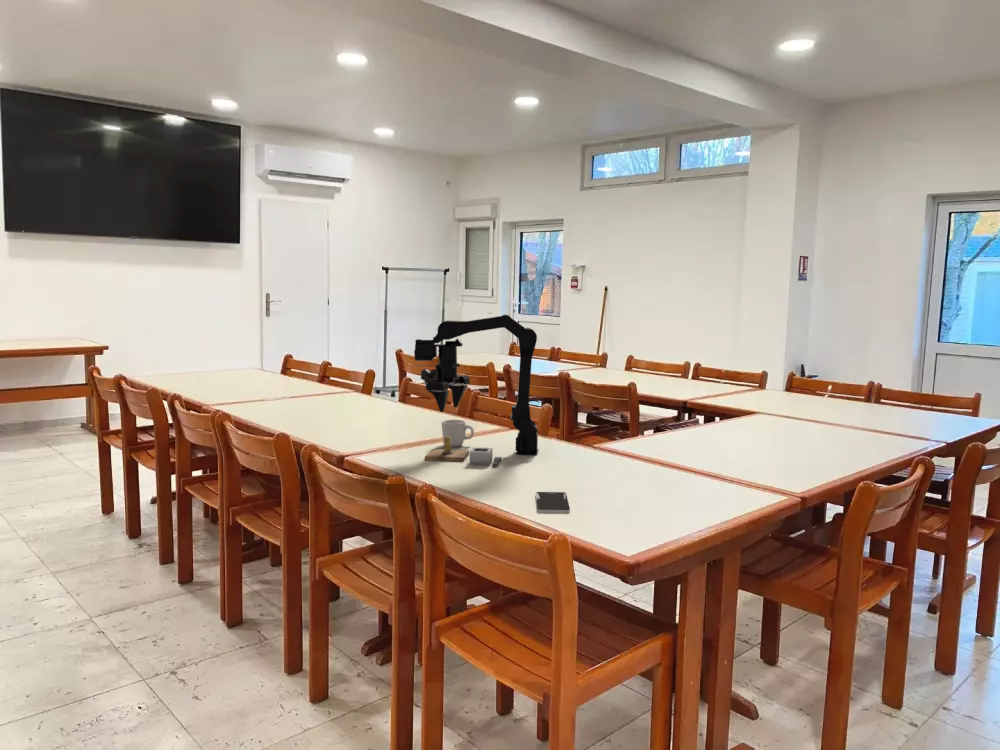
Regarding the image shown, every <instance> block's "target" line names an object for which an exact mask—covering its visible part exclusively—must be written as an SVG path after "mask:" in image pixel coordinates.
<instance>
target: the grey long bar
mask: <svg viewBox="0 0 1000 750" xmlns="http://www.w3.org/2000/svg"><path fill="white" fill-rule="evenodd" d="M501 461H502V456H494V457H493V461H492V463H491V465H492V468H498V467H499V465H500V463H501Z"/></svg>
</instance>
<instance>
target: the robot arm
mask: <svg viewBox="0 0 1000 750" xmlns="http://www.w3.org/2000/svg"><path fill="white" fill-rule="evenodd" d="M502 328H504V329H506V330H507V331H508V332H510V334H512V335H514V336H515V337H516V338H517V339H518V347H519V357H520V358H519V371H518V383H517V384H518V387H517V397H516V398H517V399H516V403H515V404H511V406H510V407H511V414H510V421H512V426H513V427H514V428H515V429H516V430H518V432H517V436H516V438H515V451H516V455H533V456H534V455H535V456H536V455H537V454H538V453H539V448H538V447H539V446H538V445H539V444H538V443H539V442H538V441H539V433H538V427H537V424H536V423H535V421H533V420H532V417H531V410H530V409H531V408H530V402H529V401H530V388H531V386H530V385H531V375H532V360H533V357H534V356H533V355H534V353H535V348H536V345H537V340H538V335H537V333H536V331H535V330H534V329H533V328H531V327H524V326H523V325H522V324H520V323H519V322H518V321H516V320H515V319H513V318H512V317H511V316H510V315H509V314H502V315H498V316H493V317H486V318H485V317H484V318H478V319H474V320H473V319H472V320H444V321H442V322H441V323H440V324H439V325H438V327H437V333H436V334H435V336H433V338H432V339H418V338H417V339H415V345H414V350H413V351H414V352H413V353H414V361H415V362H428V361H429V362H432V361H434V359H437V358H438V363H436V365H435V368H434V369H431V370H429V368H426V369H422V370H421V373H420V379H421V380H422V381H424V384H425V391H428V393H430V394H431V395H433V396H434V399H435V401H436V404H437V407H438V410H439V412H440V413H444V412H445V409H446V405H447V400H448V397H449V394H450V393H449V392H450V390H451V395H452V396H451V397H452V403H453V408H455V409H456V408H458V406H459V404H460V402H461V400H462V397H463V395H464V393H465V391H466V389H467V387H469V386H468V385H470V383H471V382H470V376H468V375H467V374H458V368H459V367H460V363H458V354H457V353H458V350H457V348H458V347H463V342H461V341H460V340H459V338H458V337H460V336H463V335H465V334H468V333H475V332H482V331H489V330H495V329H502ZM455 338H456V339H455ZM451 339H455V340H451ZM444 340H445V343H443V344H442V343H441V342H442V341H444ZM437 347H438V348H437ZM437 356H438V357H437ZM448 389H450V390H448Z"/></svg>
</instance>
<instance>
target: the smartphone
mask: <svg viewBox="0 0 1000 750" xmlns="http://www.w3.org/2000/svg"><path fill="white" fill-rule="evenodd" d="M535 501H536V502H535V503H536V509H537V510H536V511H537V513H539V514H542V513H544V514H569V513H571V512H570V511H571V508H570V504H569V500H568V495H567V492H565V491H535Z"/></svg>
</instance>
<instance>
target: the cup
mask: <svg viewBox="0 0 1000 750" xmlns="http://www.w3.org/2000/svg"><path fill="white" fill-rule="evenodd" d="M467 429H469V430H470V435H469V436H468V435H467V434H466V431H467ZM441 432H442V440H443V441H442V442H443V443H444V437H451V448H452V447H460V446H462V445H463V444H464V441H466V440H470V439H472V438H473V436H474V434H475V433H474V427H473V426H471V425H469V424H466V421H465V420H461V419H445V420H442V421H441Z"/></svg>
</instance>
